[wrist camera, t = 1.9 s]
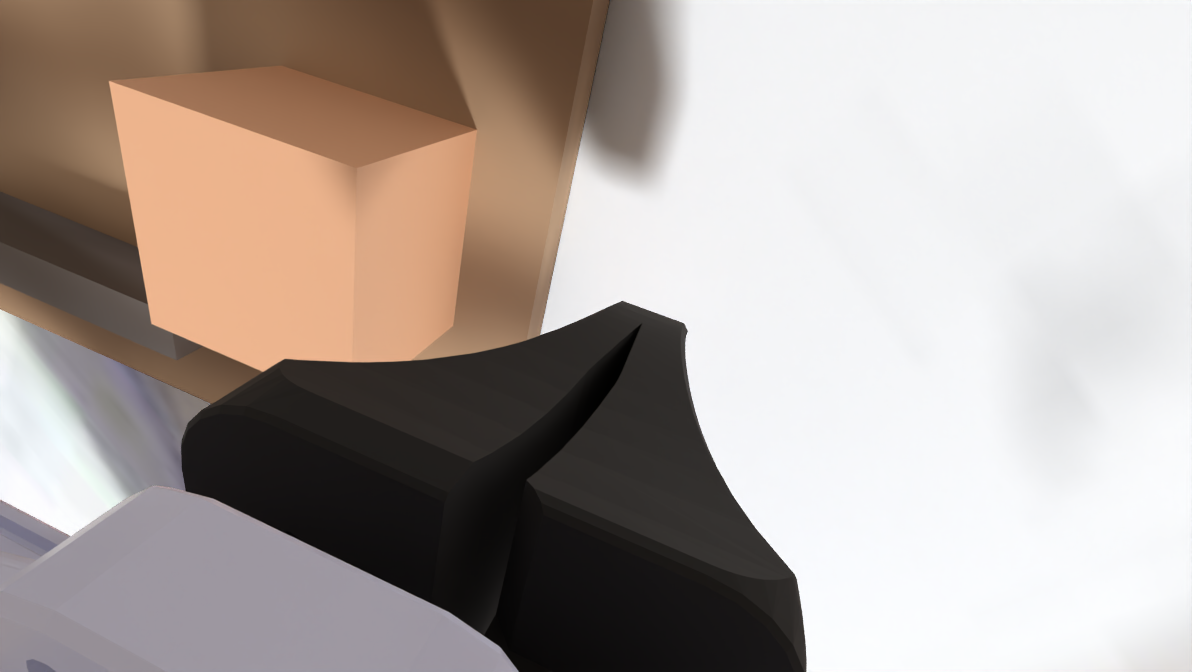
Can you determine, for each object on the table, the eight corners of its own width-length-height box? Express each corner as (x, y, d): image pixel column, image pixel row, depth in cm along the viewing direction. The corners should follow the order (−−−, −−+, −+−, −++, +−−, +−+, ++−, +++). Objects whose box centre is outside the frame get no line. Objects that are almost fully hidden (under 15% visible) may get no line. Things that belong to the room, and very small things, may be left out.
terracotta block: (453, 325, 16) (351, 409, 12) (288, 261, 17) (151, 323, 13) (476, 129, 13) (356, 167, 10) (281, 65, 14) (108, 81, 11)
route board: (504, 506, 20) (456, 578, 17) (-98, 242, 24) (-207, 268, 21) (658, -231, 10) (603, -312, 8) (-365, -443, 15) (-610, -538, 12)
